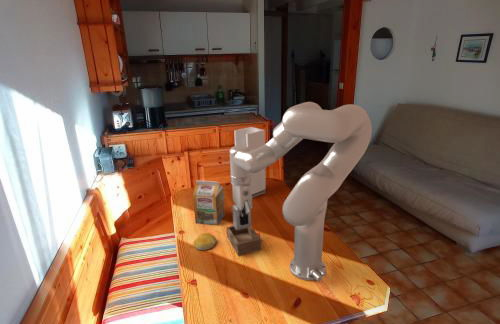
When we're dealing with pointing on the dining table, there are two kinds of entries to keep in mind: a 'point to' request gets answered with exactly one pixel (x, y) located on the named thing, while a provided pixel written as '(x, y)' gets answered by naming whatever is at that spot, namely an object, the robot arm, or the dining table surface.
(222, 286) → the dining table surface
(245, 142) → the light grey boxy piece
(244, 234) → the open box
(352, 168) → the robot arm
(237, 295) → the dining table surface
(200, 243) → the bread roll
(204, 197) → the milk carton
